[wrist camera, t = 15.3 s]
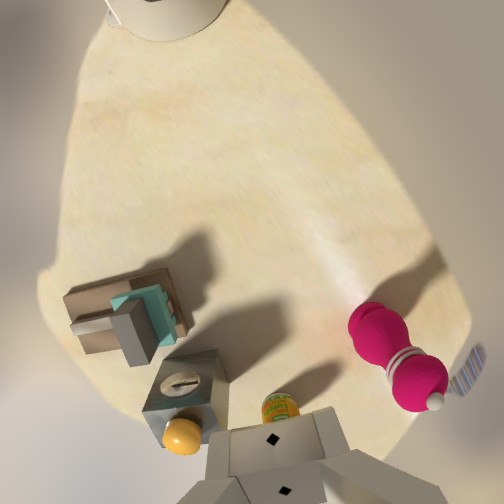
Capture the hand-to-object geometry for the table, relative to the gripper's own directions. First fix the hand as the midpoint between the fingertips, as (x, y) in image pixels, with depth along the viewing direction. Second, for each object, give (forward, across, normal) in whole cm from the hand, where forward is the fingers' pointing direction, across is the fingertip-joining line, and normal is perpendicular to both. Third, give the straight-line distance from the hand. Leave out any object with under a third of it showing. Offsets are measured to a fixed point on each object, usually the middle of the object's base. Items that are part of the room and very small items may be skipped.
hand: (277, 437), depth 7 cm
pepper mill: (+33, -13, +16) cm, 39 cm away
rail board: (+33, +19, +6) cm, 39 cm away
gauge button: (+21, +12, +17) cm, 29 cm away
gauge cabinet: (+33, +12, +17) cm, 39 cm away
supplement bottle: (+33, +2, +26) cm, 42 cm away
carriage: (+31, +14, +6) cm, 35 cm away
